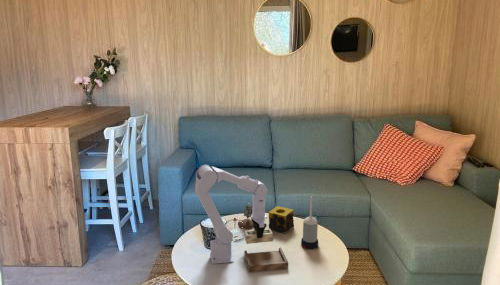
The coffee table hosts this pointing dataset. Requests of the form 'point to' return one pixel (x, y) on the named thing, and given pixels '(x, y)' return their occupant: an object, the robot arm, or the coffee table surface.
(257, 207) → the robot arm
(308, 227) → the humidifier
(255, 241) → the tumbler tray
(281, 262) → the wooden tray
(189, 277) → the coffee table surface
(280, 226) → the candle
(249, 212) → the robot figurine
